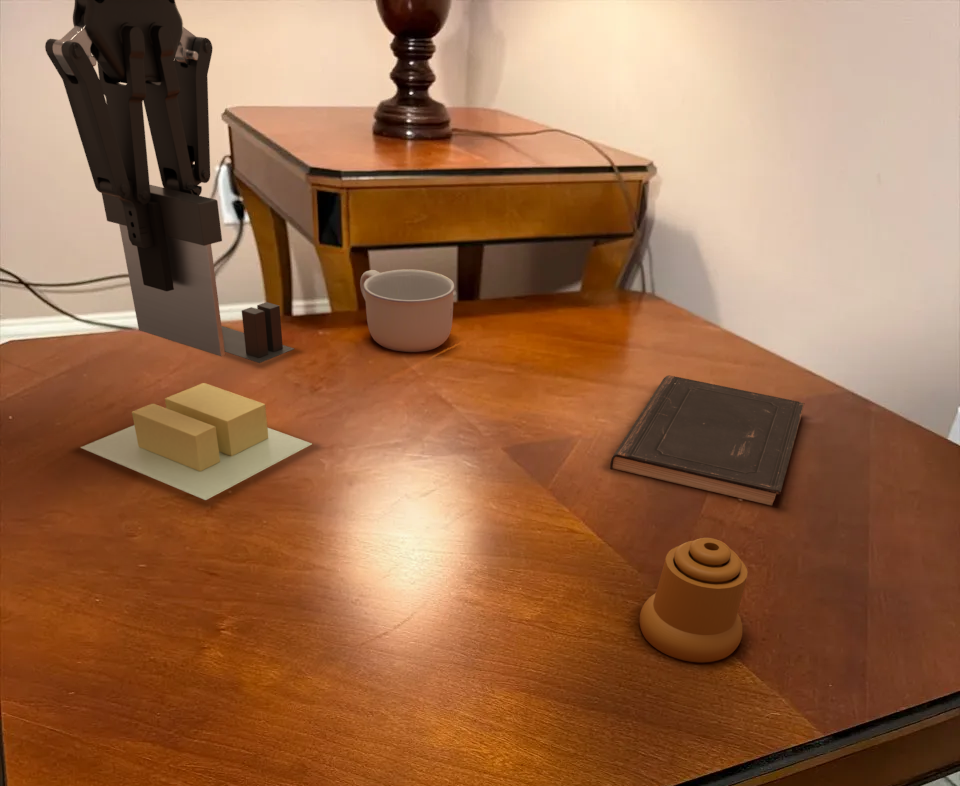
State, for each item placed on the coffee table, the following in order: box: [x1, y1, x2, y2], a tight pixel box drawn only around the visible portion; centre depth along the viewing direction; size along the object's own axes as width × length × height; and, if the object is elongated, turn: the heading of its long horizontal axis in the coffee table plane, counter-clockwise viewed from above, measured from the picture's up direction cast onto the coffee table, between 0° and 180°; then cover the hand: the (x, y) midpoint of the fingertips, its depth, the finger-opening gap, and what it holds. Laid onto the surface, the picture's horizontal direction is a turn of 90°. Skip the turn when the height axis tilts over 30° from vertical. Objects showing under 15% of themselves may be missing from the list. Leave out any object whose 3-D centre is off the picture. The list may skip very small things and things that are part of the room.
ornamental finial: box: [639, 537, 749, 664], centre depth 62 cm, size 8×8×8 cm
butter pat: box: [131, 403, 220, 471], centre depth 79 cm, size 8×2×4 cm, turn 58°
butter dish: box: [80, 424, 313, 501], centre depth 82 cm, size 16×14×1 cm
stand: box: [221, 301, 295, 364], centre depth 102 cm, size 14×6×6 cm, turn 58°
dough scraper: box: [101, 184, 226, 357], centre depth 72 cm, size 11×2×12 cm, turn 58°
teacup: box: [359, 268, 455, 353], centre depth 107 cm, size 14×11×8 cm
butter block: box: [164, 382, 269, 456], centre depth 83 cm, size 8×5×4 cm, turn 58°
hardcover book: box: [609, 375, 806, 506], centre depth 90 cm, size 16×23×2 cm
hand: (171, 283), depth 72 cm, fingers closed on dough scraper, 2 cm apart
